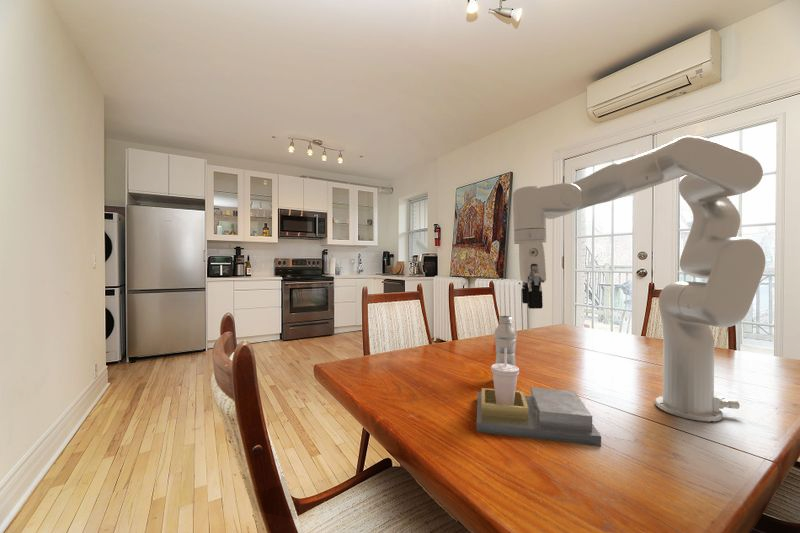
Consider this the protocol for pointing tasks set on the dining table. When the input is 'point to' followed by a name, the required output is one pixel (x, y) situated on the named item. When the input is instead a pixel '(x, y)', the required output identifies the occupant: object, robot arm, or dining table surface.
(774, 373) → the dining table surface
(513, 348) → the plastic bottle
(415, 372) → the dining table surface
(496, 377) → the smoothie
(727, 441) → the dining table surface
